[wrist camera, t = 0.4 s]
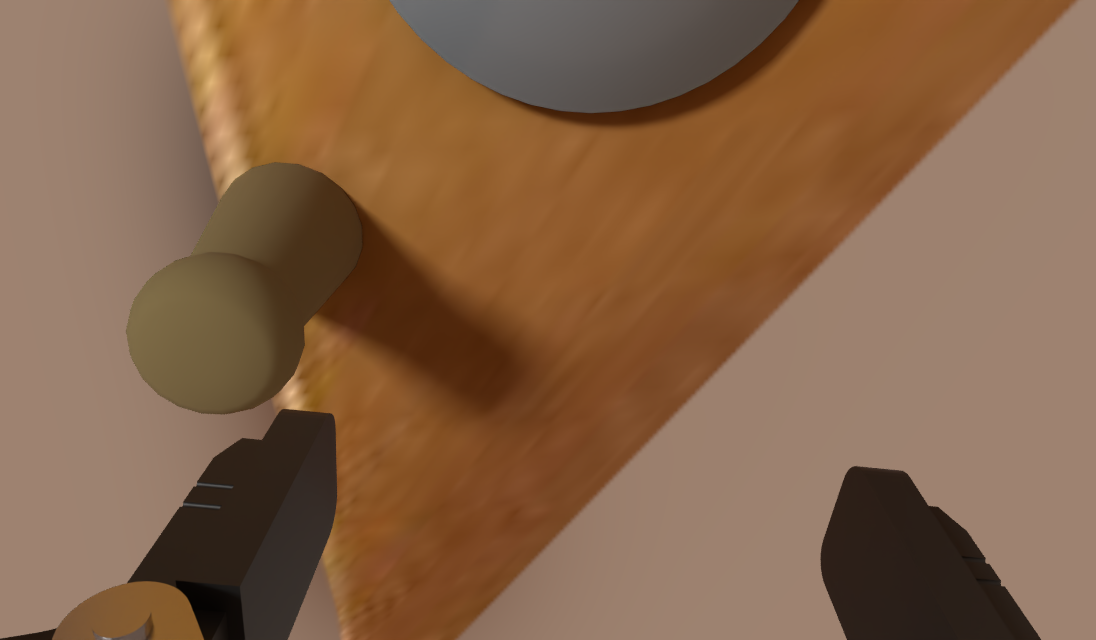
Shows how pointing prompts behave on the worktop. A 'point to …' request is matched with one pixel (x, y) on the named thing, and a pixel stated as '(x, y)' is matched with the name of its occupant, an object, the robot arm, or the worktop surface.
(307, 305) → the cork
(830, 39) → the worktop surface
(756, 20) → the slate plate
